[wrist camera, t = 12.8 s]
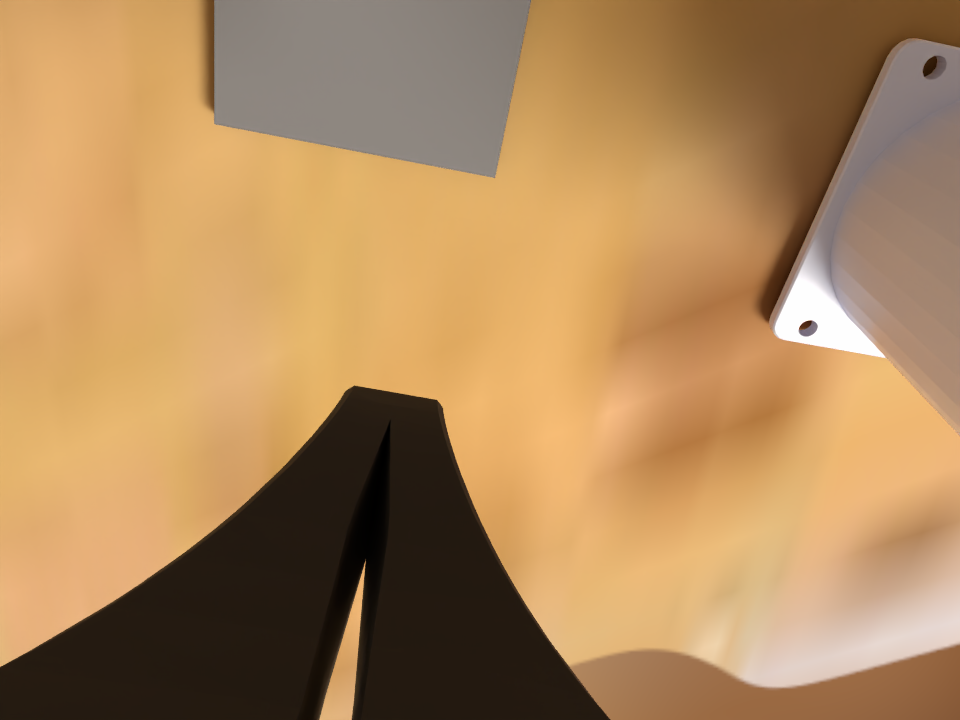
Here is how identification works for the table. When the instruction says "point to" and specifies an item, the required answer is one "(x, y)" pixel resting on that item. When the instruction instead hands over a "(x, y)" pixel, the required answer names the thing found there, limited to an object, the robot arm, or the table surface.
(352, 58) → the rubber pad
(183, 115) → the table surface
